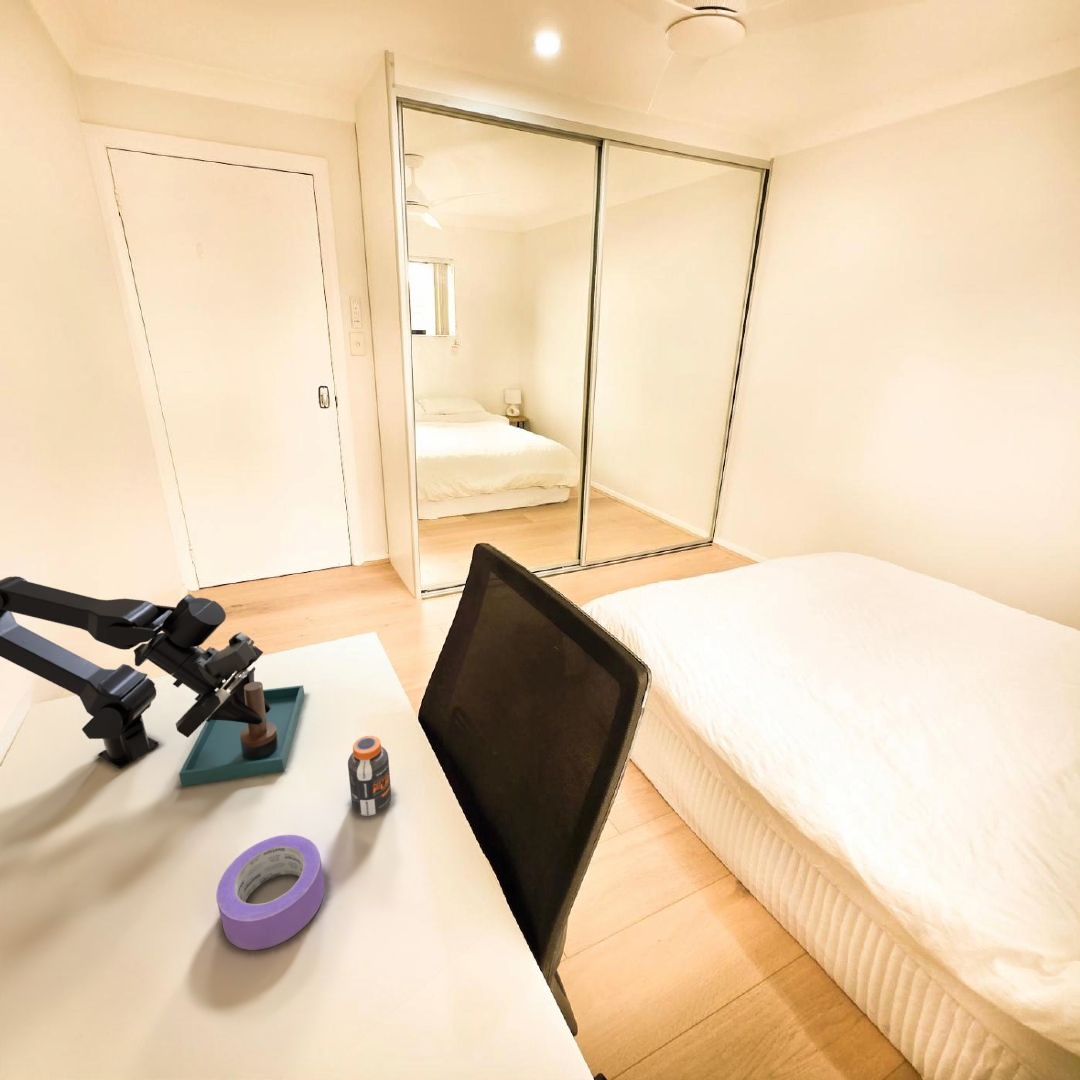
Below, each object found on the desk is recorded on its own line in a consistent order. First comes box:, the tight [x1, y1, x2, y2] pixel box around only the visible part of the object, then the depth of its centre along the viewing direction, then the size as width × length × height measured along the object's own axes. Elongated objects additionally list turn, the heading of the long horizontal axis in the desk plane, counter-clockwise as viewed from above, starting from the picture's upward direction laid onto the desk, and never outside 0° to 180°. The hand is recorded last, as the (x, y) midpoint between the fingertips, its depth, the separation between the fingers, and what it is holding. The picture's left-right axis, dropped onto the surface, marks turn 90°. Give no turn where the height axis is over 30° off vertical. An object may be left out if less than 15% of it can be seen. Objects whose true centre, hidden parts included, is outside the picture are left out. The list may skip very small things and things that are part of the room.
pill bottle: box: [347, 735, 392, 817], centre depth 82 cm, size 6×6×11 cm
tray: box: [178, 684, 306, 787], centre depth 96 cm, size 21×15×3 cm
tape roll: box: [216, 834, 326, 951], centre depth 67 cm, size 12×12×5 cm
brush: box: [240, 681, 278, 759], centre depth 91 cm, size 6×6×12 cm
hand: (265, 716), depth 91 cm, fingers closed on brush, 3 cm apart
